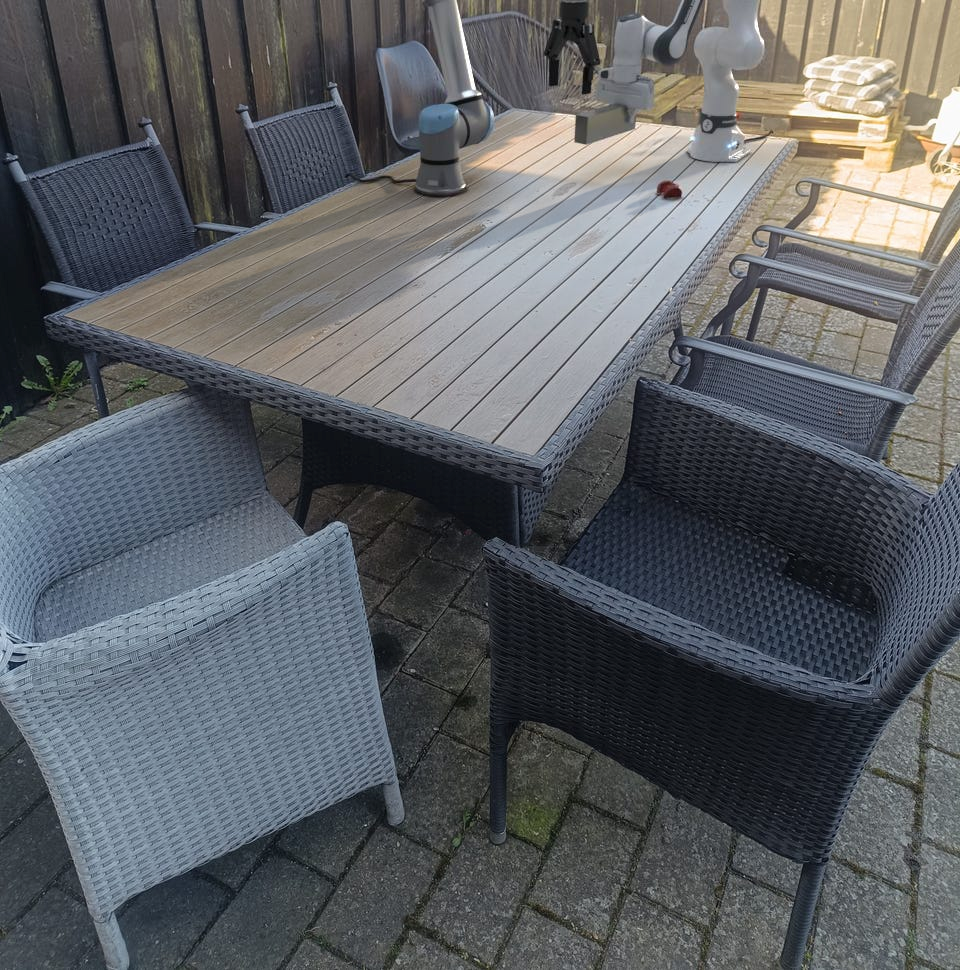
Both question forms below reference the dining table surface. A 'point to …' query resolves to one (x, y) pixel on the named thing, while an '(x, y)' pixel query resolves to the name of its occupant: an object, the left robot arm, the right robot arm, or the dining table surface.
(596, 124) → the bar
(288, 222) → the dining table surface
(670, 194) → the dental model
